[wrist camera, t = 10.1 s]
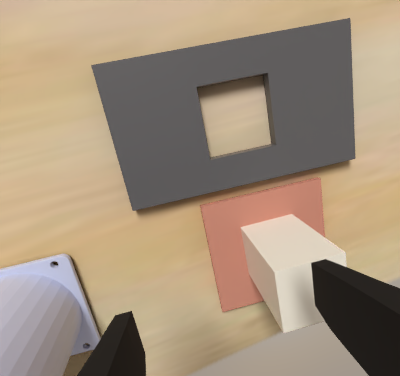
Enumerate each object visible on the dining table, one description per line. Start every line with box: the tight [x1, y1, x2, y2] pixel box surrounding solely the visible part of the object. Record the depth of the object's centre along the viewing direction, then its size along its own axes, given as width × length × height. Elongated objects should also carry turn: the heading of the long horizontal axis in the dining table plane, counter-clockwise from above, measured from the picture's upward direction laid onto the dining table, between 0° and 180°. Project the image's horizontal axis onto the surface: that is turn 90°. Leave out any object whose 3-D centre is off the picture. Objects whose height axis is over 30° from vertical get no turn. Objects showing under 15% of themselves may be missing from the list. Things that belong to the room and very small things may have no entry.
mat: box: [200, 177, 325, 312], centre depth 21 cm, size 9×9×1 cm
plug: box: [241, 214, 347, 333], centre depth 17 cm, size 4×4×6 cm
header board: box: [91, 18, 355, 211], centre depth 18 cm, size 16×9×1 cm, turn 101°
